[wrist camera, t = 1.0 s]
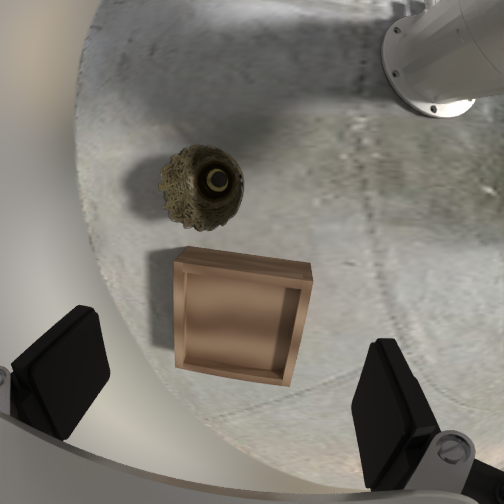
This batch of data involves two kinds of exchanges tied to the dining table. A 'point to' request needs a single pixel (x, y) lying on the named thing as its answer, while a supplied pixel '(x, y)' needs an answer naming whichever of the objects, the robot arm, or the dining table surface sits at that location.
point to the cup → (201, 187)
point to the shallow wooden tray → (239, 314)
